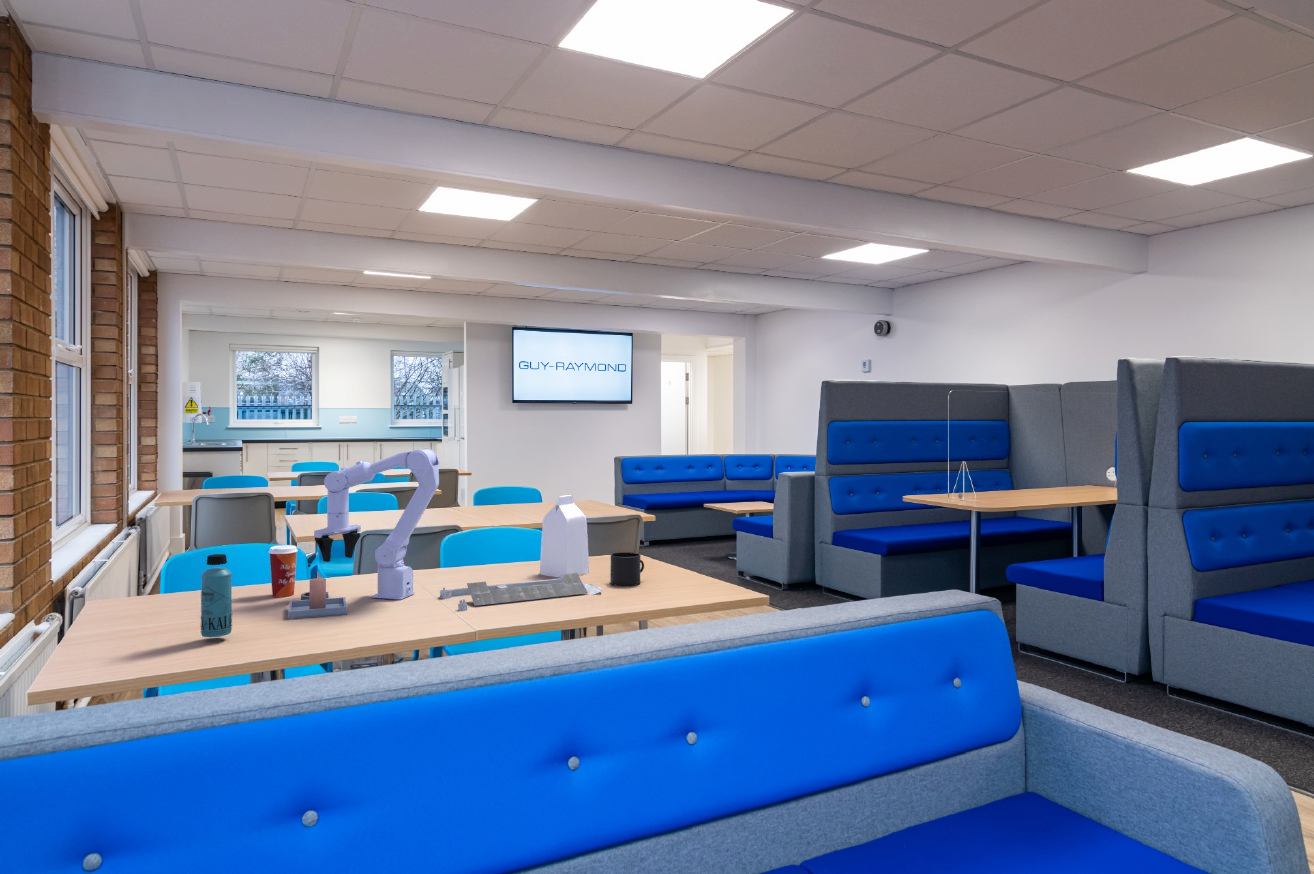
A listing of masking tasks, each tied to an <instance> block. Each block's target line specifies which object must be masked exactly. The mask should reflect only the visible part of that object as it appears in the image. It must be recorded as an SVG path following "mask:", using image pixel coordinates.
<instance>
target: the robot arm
mask: <svg viewBox="0 0 1314 874" xmlns="http://www.w3.org/2000/svg"><path fill="white" fill-rule="evenodd" d="M397 467H398V468H399V467H400V468H403V469H409V470H410V471H411V472H412V474H413V475H414V476H415V479H416V481H417V483H418V486H417V488H415V492H414V493H413V495H412V497H411V498H410V500H409V502H408V503H407V505H406V507H405V509H404V511H403V512H402V514H401V515H400V518H399V519H398V521H397V523H396V525H395V526H394V528H393V530H392V532H391V533H390V534H389V535H387V536H388V537H386V538H385V541H384V542H383V543H382V544H381V545H379V546H378V547H376V549H375V552H374V559H375V562H376V563H377V593H375V594H372V595H371V596H370V597H371V598H372V599H373V598H375V599H385V600H386V599H389V600H403V599H405V598H407V597H410V596H412V595H414V594H415V592H414V570H413V568H412V567H411V566H406V565H405V562H404V558H405V556H406V555H407V547H408V545H409V544H410V537H411V536H412V533H413V532H414V530H415V528H416V526H417V525H418V523H419V522H420V519H421V518H422V516H423V514H424V512H425V511H426V509H427V507H428V506H429V503H430V502H431V500H432V498H433V497H434V495H435V493H436V492H437V489H438V487H439V485H440V475H439V474H440V472H439V470H440V469H439V467H440V460H439V458H438V455H437V453H436V452H435V451H434V450H433V449H431V448H422V449H413V450H412V451H406V452H405V451H404V452H400V453H396V454H394V455H392V456H389V457H386V458H383V459H381V460H378V461H376V462H373V463H370V462H368V461H362V460H359V461H357V462H355V464H354V465H351V466H348V467H346V466H343V467H341V468H340V470H339V471H338V470H337V471H336V470H335V471H331V472H329V473H328V474H327V475H326V476H325V477H324V480H323V483H324V487H325V489H326V490H327V501H326V502H327V508H326V509H327V511H326V512H327V516H326V517H327V518H326V519H327V522H326V523H327V524H326V525H327V526H326V527H325V528H321V529H316V530H314V531H313V532H314V533H313V537H314V541H315V542H316V544H317V546H318V548H319V550H320V553H321V556H322V561H323V562H324V563H330V562H331V558H332V557H331V556H332V546H333V542H334V538H331V537H330V536H337V535H342V538H343V543H344V545H343V546H344V557H345V558H348V559H352V558H353V555H354V552H355V548H356V546H357V543H358V541H359V539H360V537H361V524H350V523H349V521H350V520H349V515H350V514H349V513H350V512H349V511H350V510H349V509H350V508H349V504H350V503H349V501H350V500H349V499H350V498H349V497H350V496H349V495H350V493H349V491H350V490H349V489H350V488H353V487H356V486H359V485H361V484H364V483H368V482H371V481H373V480H374V478H375V476H376V474H380V473H382V472H386V471H389V470H392V469H395V468H397ZM349 524H350V525H349Z"/></svg>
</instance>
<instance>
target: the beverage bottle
mask: <svg viewBox="0 0 1314 874" xmlns="http://www.w3.org/2000/svg"><path fill="white" fill-rule="evenodd" d="M206 557H207V558H206V565H208V566H220V565H226V564H227V563H228V560H227V554H225V553H216V554H209V555H207V556H206ZM200 575H201V576H200V577H201V589H200V614H201V615H200V616H199V617H200V619H199V621H200V624H199V625H200V626H199V627H200V628H199V629H200V634H201V636H202V637H204V638H218V637H224V636H229V635H230V634H231V633H232V630H233V613H232V611H233V599H232V595H233V594H232V592H233V591H232V589H233V588H232V581H233V579H232V576H233V573H232V571H231V570H230V569H228V568H226V567H213V568H207V569H205V571H203V572H202V574H200Z"/></svg>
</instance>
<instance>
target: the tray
mask: <svg viewBox="0 0 1314 874" xmlns="http://www.w3.org/2000/svg"><path fill="white" fill-rule="evenodd" d="M347 607H348V606H347V600H346V596H342V597H340V596H339V597H328V598H326V608H321V609H309V600H301V599H300V600H290V601H288V611H287V620H295V619H296V620H297V619H308V618H309V619H310V618H320V617H333V616H335V617H336V616H347V614H348V608H347Z"/></svg>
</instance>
